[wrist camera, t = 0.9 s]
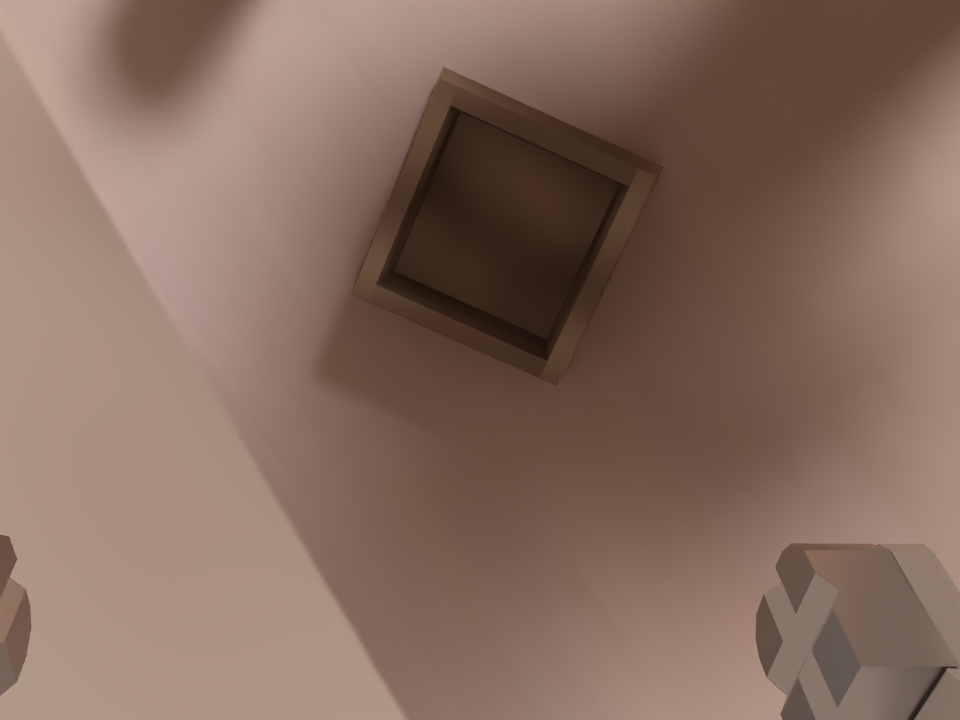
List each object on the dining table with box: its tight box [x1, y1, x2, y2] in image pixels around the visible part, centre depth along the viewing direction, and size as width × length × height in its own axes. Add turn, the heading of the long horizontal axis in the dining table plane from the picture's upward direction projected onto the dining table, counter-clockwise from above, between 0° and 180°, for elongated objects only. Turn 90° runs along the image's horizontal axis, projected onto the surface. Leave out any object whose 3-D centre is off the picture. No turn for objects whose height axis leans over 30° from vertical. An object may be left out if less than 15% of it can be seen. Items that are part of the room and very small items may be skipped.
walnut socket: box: [352, 67, 663, 385], centre depth 41 cm, size 11×11×6 cm
